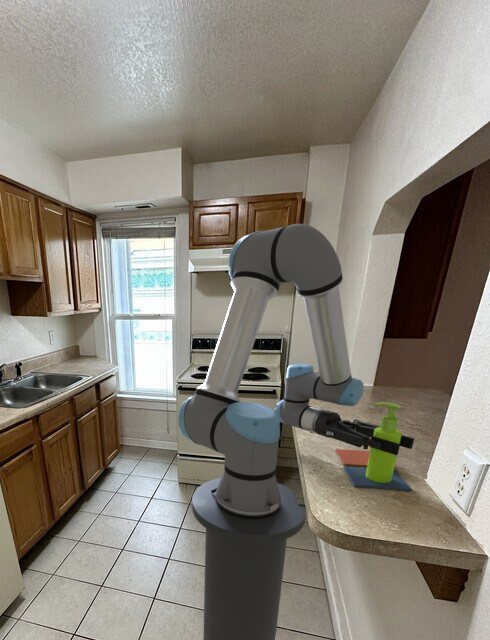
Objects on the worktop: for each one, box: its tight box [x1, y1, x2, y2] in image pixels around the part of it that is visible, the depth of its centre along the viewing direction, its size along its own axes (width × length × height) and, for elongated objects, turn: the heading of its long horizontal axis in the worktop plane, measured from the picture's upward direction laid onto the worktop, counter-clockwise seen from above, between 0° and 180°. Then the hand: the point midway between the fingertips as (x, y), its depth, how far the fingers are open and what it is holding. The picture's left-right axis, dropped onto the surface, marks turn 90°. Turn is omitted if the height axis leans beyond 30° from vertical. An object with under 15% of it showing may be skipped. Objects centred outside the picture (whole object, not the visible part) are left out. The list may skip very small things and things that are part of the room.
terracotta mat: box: [335, 448, 395, 469], centre depth 105 cm, size 13×11×1 cm
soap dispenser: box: [366, 401, 403, 483], centre depth 90 cm, size 6×7×20 cm
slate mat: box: [343, 466, 413, 492], centre depth 93 cm, size 13×11×1 cm
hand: (405, 446), depth 85 cm, fingers closed on soap dispenser, 6 cm apart
